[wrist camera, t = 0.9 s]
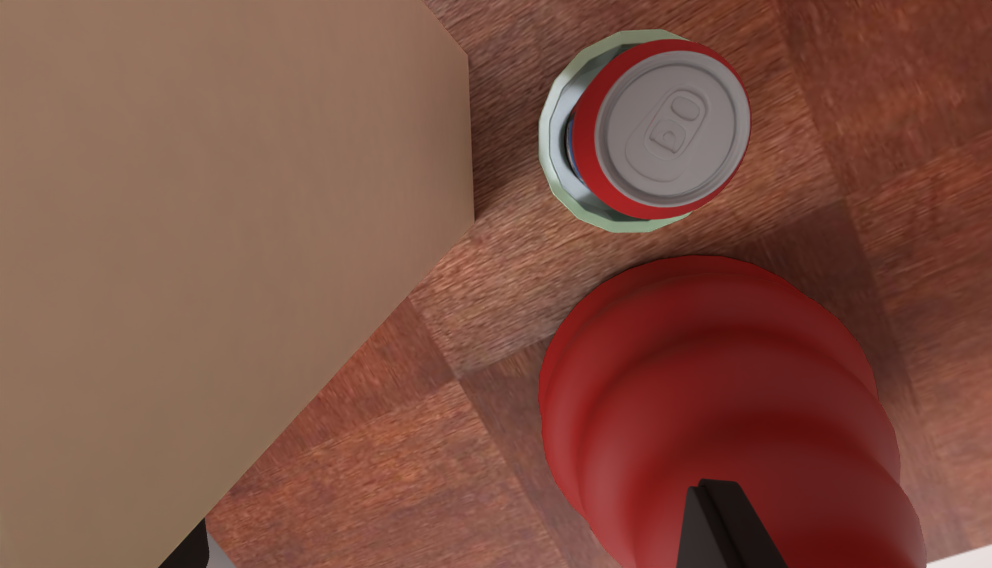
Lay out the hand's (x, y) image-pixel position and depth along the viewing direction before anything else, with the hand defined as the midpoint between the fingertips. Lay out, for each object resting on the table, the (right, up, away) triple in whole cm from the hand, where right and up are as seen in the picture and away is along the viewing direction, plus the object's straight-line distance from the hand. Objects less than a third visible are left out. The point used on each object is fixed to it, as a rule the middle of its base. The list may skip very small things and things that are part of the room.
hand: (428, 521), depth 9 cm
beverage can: (+9, +13, +20) cm, 25 cm away
